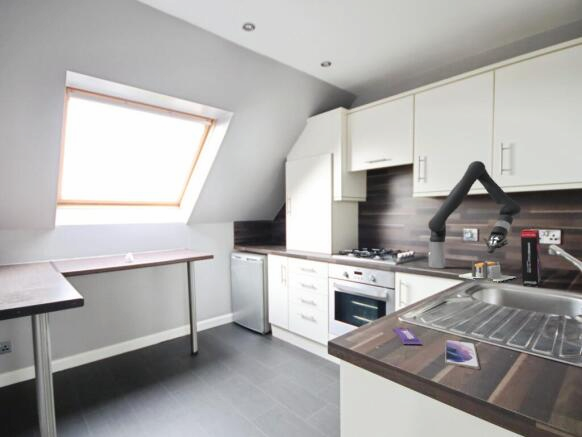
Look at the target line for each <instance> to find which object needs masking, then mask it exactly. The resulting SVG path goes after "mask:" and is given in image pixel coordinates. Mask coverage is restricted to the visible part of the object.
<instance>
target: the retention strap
mask: <svg viewBox="0 0 582 437" xmlns="http://www.w3.org/2000/svg"><path fill="white" fill-rule="evenodd" d="M496 262H497V261H489V262H487V266H492V265H496ZM483 263H484V262H477V263H476V264H475V266H477V267H483Z"/></svg>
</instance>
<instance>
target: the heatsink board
mask: <svg viewBox="0 0 582 437" xmlns="http://www.w3.org/2000/svg"><path fill="white" fill-rule="evenodd" d="M487 262H490V261H489V260H485V261H484V262H482V263H483V267H477V266H475V264H477V261H474V260H472V261H471V272H469V273H467V272H466V273H463V274H459V275H458V277H459V278H464V279H470V280H474V279H473V278H491V279H493V281H497V282H498V281H503V280H508V279H513V278H516V279H517V277H516V276H512V275H506V274H505V275H504V274H502V273H501V262H500V261H495V262H496V265H492V266H487ZM513 280H514V279H513ZM508 281H509V280H508Z"/></svg>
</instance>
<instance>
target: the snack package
mask: <svg viewBox="0 0 582 437" xmlns="http://www.w3.org/2000/svg"><path fill="white" fill-rule="evenodd" d="M392 330H393V331H394V332H395V334H396V335H397V336H398V337H399V339H400V341H401V342H402V344H403V345H422V344H423V343H422V342H421V341H420V340H419V338H418V337H417V335H416V334H415V333H414V332H413V331H412V329H410V328H409V327H395V328H392Z"/></svg>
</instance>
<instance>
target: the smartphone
mask: <svg viewBox="0 0 582 437" xmlns="http://www.w3.org/2000/svg"><path fill="white" fill-rule="evenodd" d="M478 358H479V357H478V353H477V348H476V344H474V343H472V342H465V341H460V340H459V341H458V340H452V339H451V340H450V339H446V340H445V358H444V359H445V364H447V365H451V366H455V367H464V368H466V369H472V370H476V371H477V370H480V369H481V368H480V362H479V359H478Z"/></svg>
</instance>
